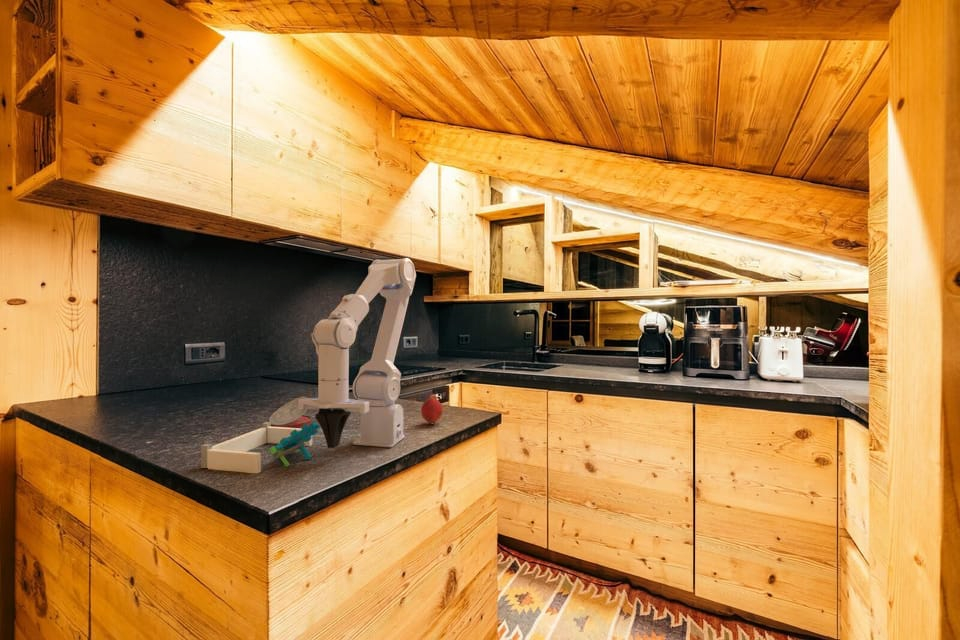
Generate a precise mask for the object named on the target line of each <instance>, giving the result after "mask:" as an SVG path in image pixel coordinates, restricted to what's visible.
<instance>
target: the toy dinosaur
mask: <svg viewBox="0 0 960 640" xmlns="http://www.w3.org/2000/svg"><path fill="white" fill-rule="evenodd" d="M320 428H321V426H320V424H319V423H317V422H316V421H313V422H312V421H311V423H310V424H309V426H308V425H307V424H305V425H303V426H302V427H301V429H302V430H301V431H297V430H296V429H295V430H294V431H292V432H291V433H290V435H291V436H290V437H287V438H286V437H285V438H282V439H281V440H280V444H277V445H275V446H274V445H273V446H271V447H269V449H268V451H269V452H270V454H271V456H273V458H276V459H277V460H279V459H280V460H281V462H282V463H283V465H284V467H286V468H288V467H289V466H291V465H290V462H289V461H288V460H287V459H286V456H287V455H289V454H292V453H294V452H296V451H298V450H299V451H300V452H301V453H302V455H303V456H304V458H305V459H306V461H309V460H311V459H312V458H313V456H312V455H311V454H310V452H309V451H308V449H307V448H306V446H304V445H305V443H304V442H308V441H309V440H310V439H311V438H312V439H313V436H315V435H316V434H318V430H319V429H320ZM311 436H312V437H311Z"/></svg>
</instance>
